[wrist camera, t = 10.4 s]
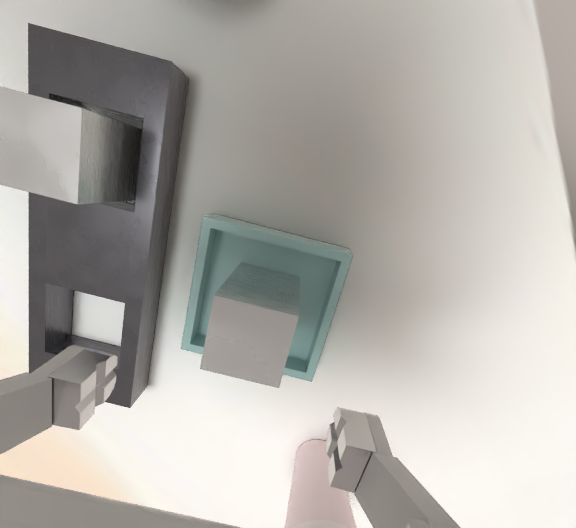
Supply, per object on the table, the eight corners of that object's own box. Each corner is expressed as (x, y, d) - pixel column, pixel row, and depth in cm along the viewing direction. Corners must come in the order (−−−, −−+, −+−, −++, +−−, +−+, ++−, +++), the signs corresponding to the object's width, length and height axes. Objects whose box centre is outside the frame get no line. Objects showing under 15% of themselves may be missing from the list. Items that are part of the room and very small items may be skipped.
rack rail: (65, 45, 18) (28, 23, 15) (189, 78, 18) (171, 61, 15) (56, 363, 24) (28, 383, 22) (147, 386, 24) (130, 408, 22)
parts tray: (212, 213, 20) (203, 216, 18) (348, 248, 20) (353, 255, 18) (191, 334, 23) (180, 348, 21) (311, 364, 23) (311, 381, 21)
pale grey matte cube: (240, 262, 20) (213, 295, 14) (300, 276, 20) (299, 316, 14) (229, 315, 21) (200, 368, 15) (285, 329, 22) (278, 387, 15)
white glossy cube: (90, 117, 19) (-15, 82, 13) (154, 134, 19) (81, 107, 13) (87, 183, 20) (-11, 181, 14) (147, 199, 20) (77, 204, 14)
